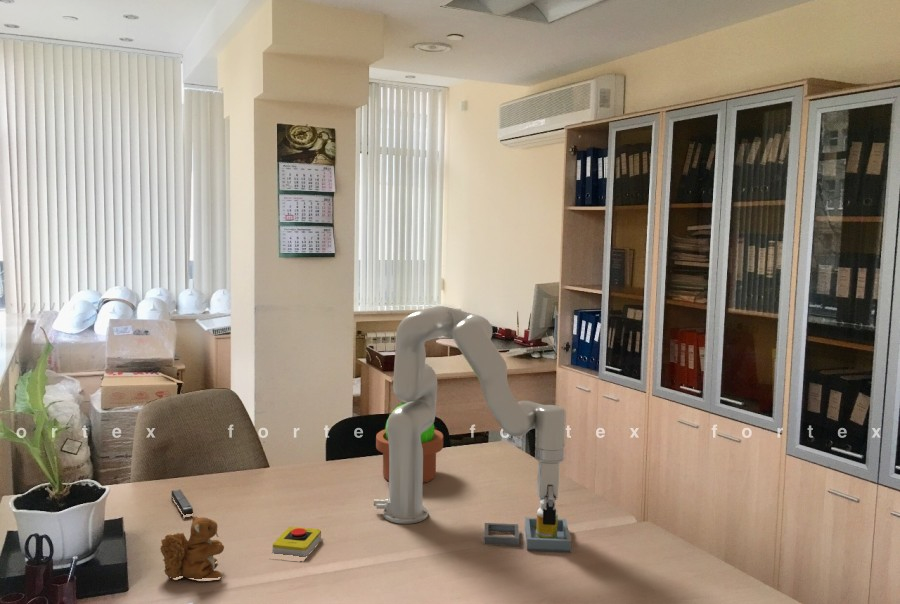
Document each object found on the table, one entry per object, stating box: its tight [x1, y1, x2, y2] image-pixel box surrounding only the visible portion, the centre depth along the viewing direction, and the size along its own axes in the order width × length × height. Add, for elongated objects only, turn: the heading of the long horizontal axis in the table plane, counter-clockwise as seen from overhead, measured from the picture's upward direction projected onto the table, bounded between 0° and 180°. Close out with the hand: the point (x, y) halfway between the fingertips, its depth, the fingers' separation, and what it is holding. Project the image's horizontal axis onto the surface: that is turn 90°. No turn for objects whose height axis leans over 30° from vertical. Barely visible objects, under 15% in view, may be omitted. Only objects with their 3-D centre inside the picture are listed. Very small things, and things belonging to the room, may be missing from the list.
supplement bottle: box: [536, 499, 559, 539], centre depth 188 cm, size 5×5×10 cm
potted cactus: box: [375, 401, 444, 484], centre depth 234 cm, size 22×22×25 cm
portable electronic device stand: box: [171, 488, 194, 515], centre depth 206 cm, size 18×3×3 cm, turn 32°
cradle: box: [483, 522, 520, 547], centre depth 189 cm, size 9×9×2 cm
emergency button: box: [271, 526, 322, 557], centre depth 181 cm, size 9×4×15 cm
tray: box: [524, 517, 572, 553], centre depth 188 cm, size 11×14×3 cm
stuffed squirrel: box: [160, 516, 225, 579], centre depth 166 cm, size 10×14×13 cm
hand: (547, 516), depth 188 cm, fingers open, 9 cm apart
